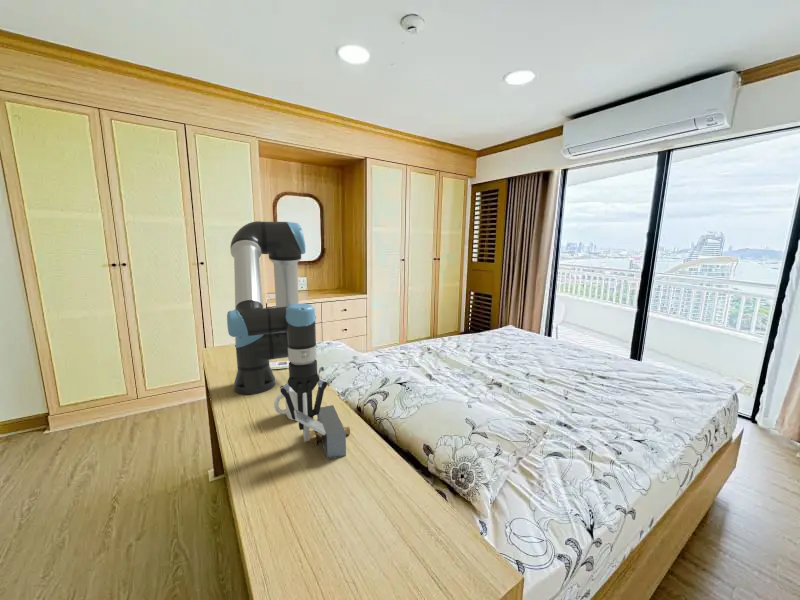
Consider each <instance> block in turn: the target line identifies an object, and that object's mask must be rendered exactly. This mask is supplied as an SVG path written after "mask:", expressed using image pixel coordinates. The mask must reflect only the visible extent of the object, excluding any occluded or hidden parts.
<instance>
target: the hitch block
mask: <svg viewBox="0 0 800 600" xmlns="http://www.w3.org/2000/svg"><path fill="white" fill-rule="evenodd" d="M316 416H317V417H316V419H317V421H319V422H320V423H322V424H323V427H324V429H325V432H326V433H325V435H323V434H322V440H321V441H322V446H323V450H324V452H325V455H326V459H327V461H328V460H329V461H330V460H333V459H337V458H340V457H341V458H342V457H344V456H347V444H346V443H347V441H346V440H347V439H346V436H347V435H346V432H345V430H344V425H343V424H342V421H341V419H340V417H339V415H338V413H337V410H336V408H335V406H334V404H332V405H327V406H321V407H320V412H319V414H318V415H316Z"/></svg>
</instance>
